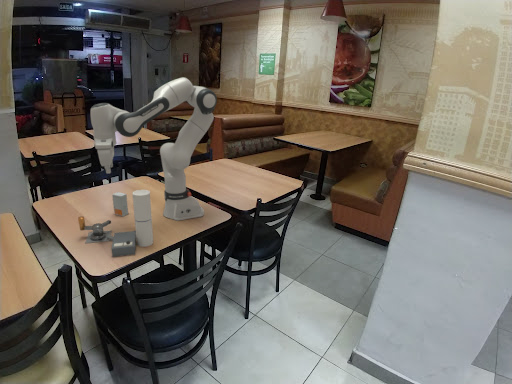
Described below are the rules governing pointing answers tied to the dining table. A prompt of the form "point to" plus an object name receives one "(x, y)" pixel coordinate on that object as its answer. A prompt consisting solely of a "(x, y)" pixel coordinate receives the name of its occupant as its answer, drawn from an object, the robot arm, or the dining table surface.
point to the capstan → (94, 228)
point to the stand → (118, 242)
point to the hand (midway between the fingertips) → (109, 170)
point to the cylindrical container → (143, 217)
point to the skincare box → (120, 204)
